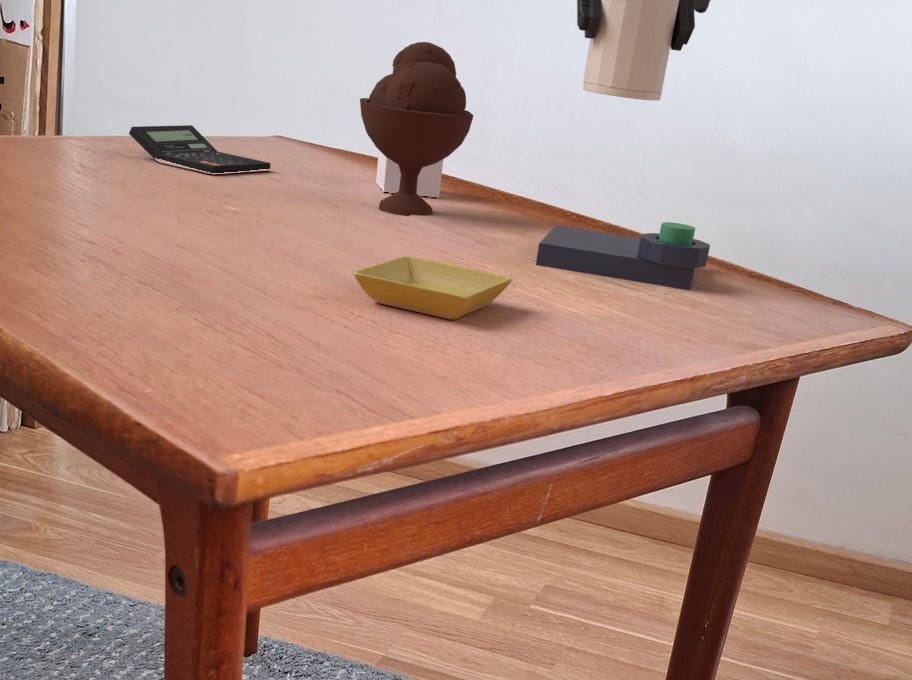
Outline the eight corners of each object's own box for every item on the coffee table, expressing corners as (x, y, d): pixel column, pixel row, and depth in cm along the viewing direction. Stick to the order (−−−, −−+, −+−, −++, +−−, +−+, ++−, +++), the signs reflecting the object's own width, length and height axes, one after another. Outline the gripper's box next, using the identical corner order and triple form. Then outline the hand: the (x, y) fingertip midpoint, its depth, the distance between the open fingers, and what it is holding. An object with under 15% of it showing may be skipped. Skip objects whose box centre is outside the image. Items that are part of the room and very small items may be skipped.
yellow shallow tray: (462, 328, 82) (466, 296, 81) (347, 301, 85) (350, 270, 84) (510, 307, 89) (515, 278, 88) (403, 283, 92) (406, 254, 91)
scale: (703, 270, 112) (711, 230, 110) (699, 295, 101) (709, 251, 100) (552, 245, 114) (558, 206, 112) (533, 267, 103) (540, 224, 102)
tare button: (692, 245, 104) (695, 225, 103) (690, 250, 101) (695, 230, 101) (658, 239, 104) (662, 220, 104) (656, 244, 102) (660, 225, 101)
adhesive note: (439, 198, 131) (446, 138, 129) (383, 193, 130) (389, 132, 127) (429, 189, 137) (435, 130, 134) (375, 183, 135) (381, 124, 132)
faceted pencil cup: (662, 98, 104) (681, -3, 100) (658, 102, 98) (678, -4, 94) (586, 87, 104) (603, -13, 101) (578, 90, 99) (595, -15, 95)
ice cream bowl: (334, 197, 123) (347, 31, 117) (436, 203, 128) (454, 43, 121) (371, 218, 115) (387, 40, 108) (479, 224, 119) (501, 53, 113)
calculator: (212, 175, 127) (213, 144, 125) (128, 156, 132) (128, 126, 130) (270, 171, 134) (271, 141, 133) (188, 153, 139) (189, 124, 138)
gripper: (558, -182, 98) (558, -13, 93) (732, -155, 100) (741, 13, 95) (537, -102, 105) (536, 60, 100) (700, -77, 107) (707, 82, 102)
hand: (636, 36), depth 98 cm, fingers closed on faceted pencil cup, 6 cm apart
